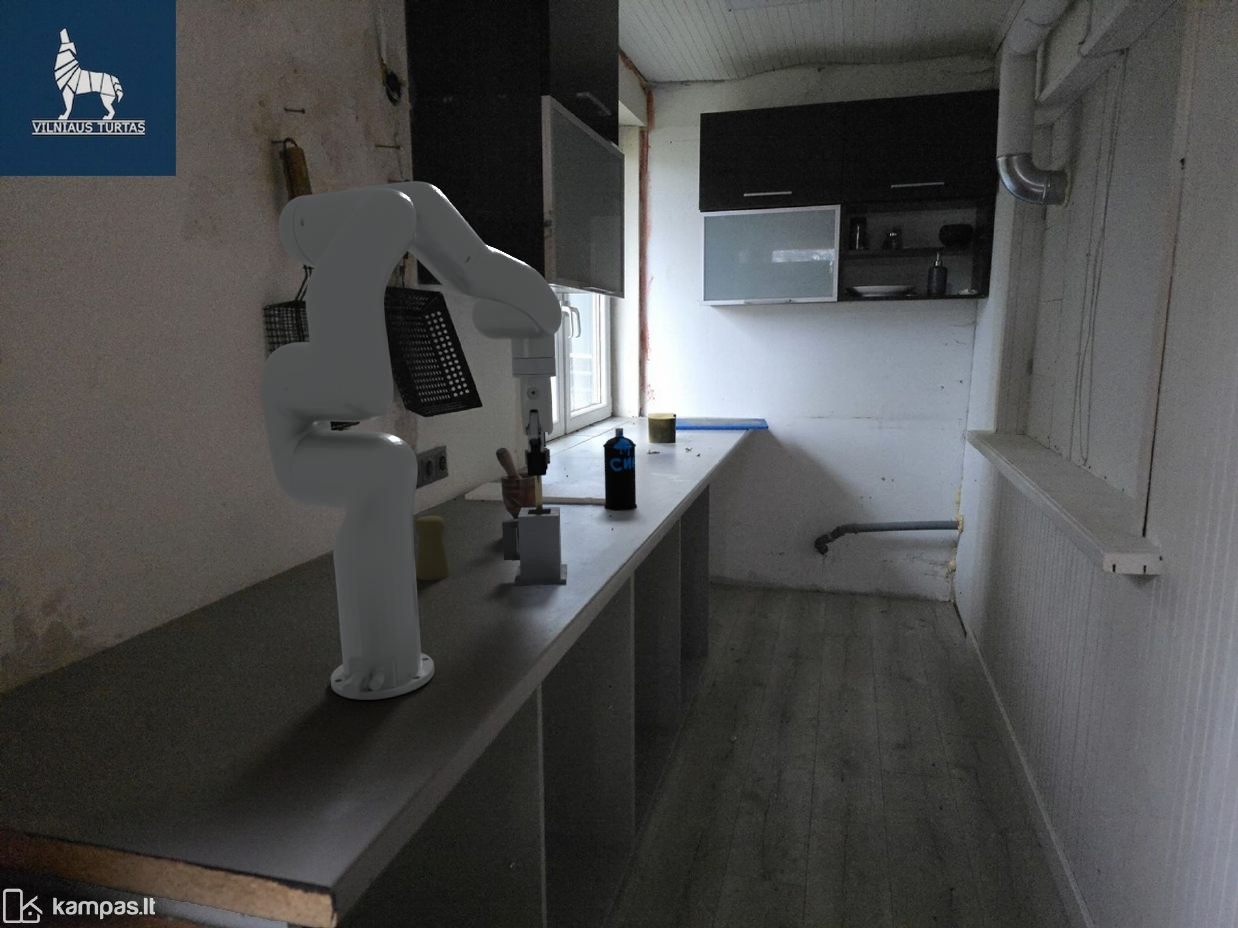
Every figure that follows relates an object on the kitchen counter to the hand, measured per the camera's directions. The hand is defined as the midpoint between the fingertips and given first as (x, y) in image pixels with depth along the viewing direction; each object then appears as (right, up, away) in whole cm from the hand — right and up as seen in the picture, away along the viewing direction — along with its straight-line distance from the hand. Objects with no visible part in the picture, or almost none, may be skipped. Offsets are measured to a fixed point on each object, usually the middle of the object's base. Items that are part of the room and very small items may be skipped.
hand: (538, 471), depth 134 cm
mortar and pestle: (-7, -14, +32) cm, 36 cm away
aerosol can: (+15, -10, +58) cm, 61 cm away
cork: (-20, -19, +5) cm, 28 cm away
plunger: (0, -11, +2) cm, 11 cm away
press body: (-1, -19, +3) cm, 19 cm away
